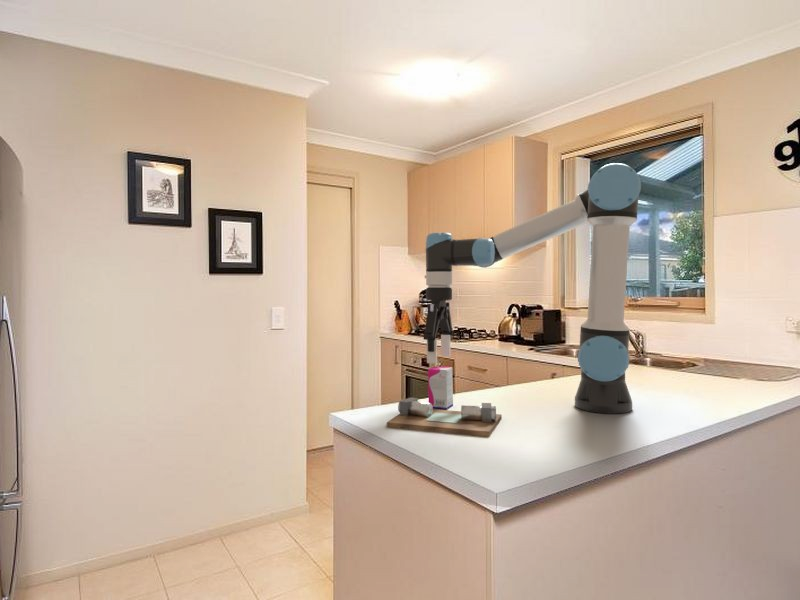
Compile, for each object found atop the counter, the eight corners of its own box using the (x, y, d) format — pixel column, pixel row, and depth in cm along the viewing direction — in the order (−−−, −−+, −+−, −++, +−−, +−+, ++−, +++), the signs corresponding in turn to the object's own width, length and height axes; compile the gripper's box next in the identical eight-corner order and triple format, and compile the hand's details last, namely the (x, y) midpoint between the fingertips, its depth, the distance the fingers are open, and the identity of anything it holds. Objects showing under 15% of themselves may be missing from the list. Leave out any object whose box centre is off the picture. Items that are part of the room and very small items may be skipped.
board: (501, 419, 130) (501, 413, 130) (489, 436, 115) (489, 430, 115) (408, 411, 140) (408, 406, 140) (386, 427, 125) (386, 421, 125)
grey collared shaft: (495, 417, 127) (495, 403, 127) (496, 423, 122) (496, 408, 122) (462, 416, 129) (461, 402, 128) (461, 422, 123) (460, 407, 123)
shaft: (434, 414, 131) (434, 400, 131) (424, 419, 127) (424, 404, 127) (407, 410, 136) (406, 396, 136) (396, 415, 132) (396, 400, 132)
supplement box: (453, 405, 146) (453, 366, 146) (446, 410, 141) (446, 370, 140) (435, 403, 149) (434, 365, 148) (427, 408, 143) (427, 368, 143)
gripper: (439, 286, 157) (439, 353, 157) (412, 287, 133) (412, 365, 134) (462, 286, 154) (462, 354, 155) (438, 287, 131) (438, 367, 131)
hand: (439, 359), depth 144 cm, fingers open, 13 cm apart
